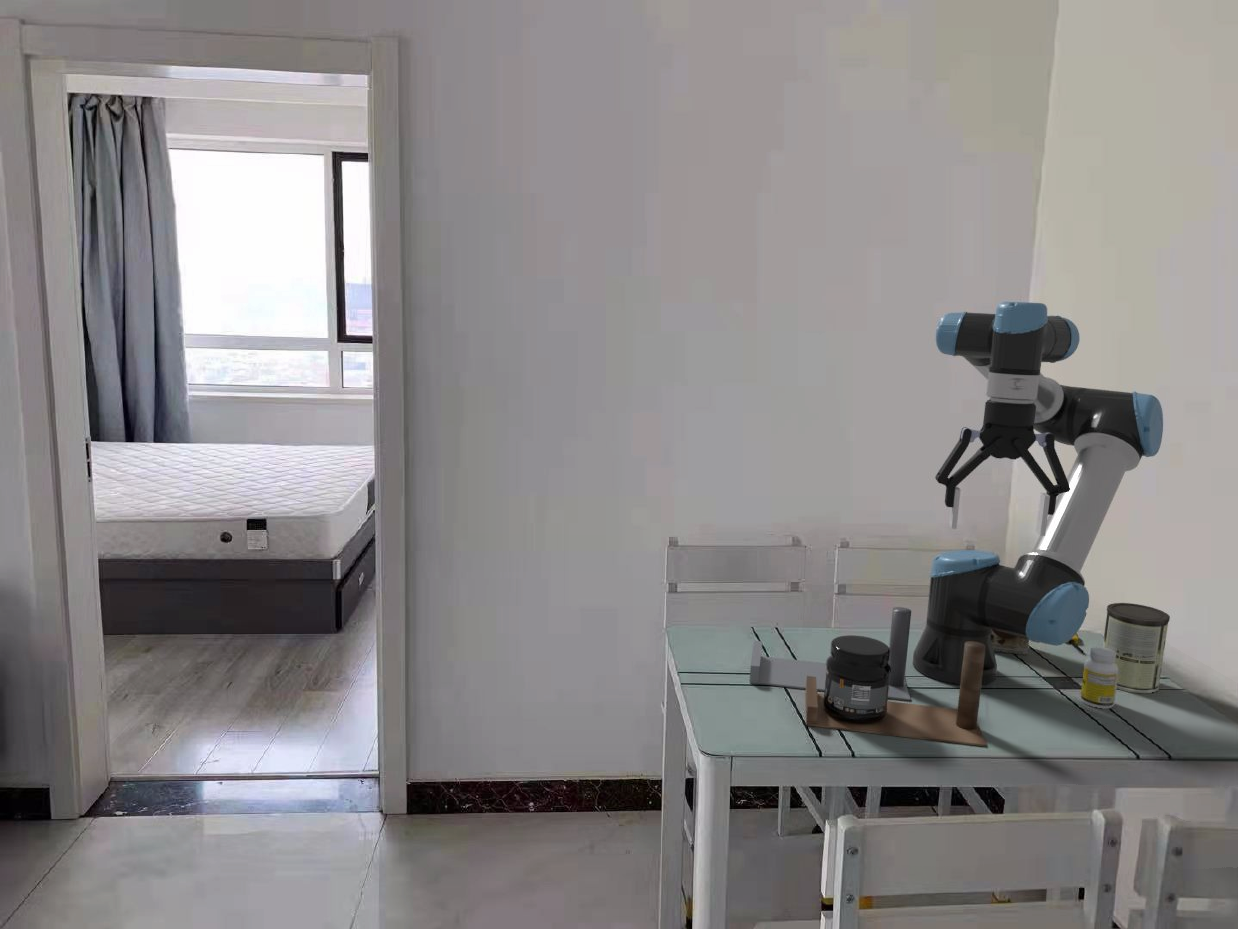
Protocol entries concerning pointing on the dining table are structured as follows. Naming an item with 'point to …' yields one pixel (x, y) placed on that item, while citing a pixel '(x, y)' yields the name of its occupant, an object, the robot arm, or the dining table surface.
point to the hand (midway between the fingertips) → (996, 530)
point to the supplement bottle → (1100, 679)
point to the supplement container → (857, 679)
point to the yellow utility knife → (1074, 642)
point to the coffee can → (1136, 645)
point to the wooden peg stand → (919, 710)
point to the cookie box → (1008, 642)
